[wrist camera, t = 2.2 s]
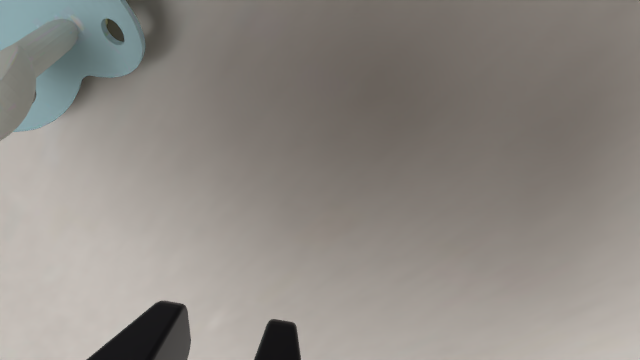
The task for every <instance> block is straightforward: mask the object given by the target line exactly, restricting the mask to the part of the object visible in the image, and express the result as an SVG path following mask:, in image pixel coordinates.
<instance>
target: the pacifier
mask: <svg viewBox="0 0 640 360" xmlns="http://www.w3.org/2000/svg"><path fill="white" fill-rule="evenodd" d="M108 19H111V20H113V21H114V22H115V23H116V24H117V25H118V26H119V27H120V29H121V30H122V32H123V35H124V42H122V41H119V40H117V39H115V38H114V37H113V36H112V35H111V34H110V33H109V31H108V29H107V24H108ZM145 47H146V46H145V38H144V34H143V31H142V29H141V26H140V23H139V21H138V19H137V17H136V16H135V14H134V12H133V11H132V9H131V8H130V6H129V5H128V3H127V2H126V0H0V140H2V139H4V138H5V137H7V136H8V135H9V134H11V133H12V132H19V131H28V130H34V129H37V128H40V127H42V126H45V125H47V124H49V123H50V122H52V121H54V120H56V119H57V118H58V117H59V116H61V115H62V114H63V113H64V112H65V111H66V110H67V109H68V107H69V106H70V105H71V104H72V102H73V101H74V99H75V97H76V95H77V93H78V91H79V89H80V86H81V83H82V79H83V78H84V77H86V76H91V75H92V76H96V77H107V78H113V77H121V76H124V75H126V74H129V73H131V72H132V71H133V70H135V69H136V68H137V67H138V65H139V64H140V62H141V60H142V58H143V56H144V53H145ZM35 91H36V99H35V101H34V102H33V100H34V97H35Z"/></svg>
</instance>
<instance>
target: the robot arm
mask: <svg viewBox="0 0 640 360" xmlns="http://www.w3.org/2000/svg"><path fill="white" fill-rule="evenodd" d="M190 344H191V337H190V328H189V320H188V311H187V308H186V306H185V305H184V304H181V303H175V302H169V301H159V302H157V303H155V304H154V305H153V306H152V307H150V308H149V309H148V310H147V311H146V312H144V313H143V314H142V315H141V316H139V317H138V318H137V319H136V320H135V321H133V322H132V323H131V324H130V325H128V326H127V327H126V328H125V329H124V330H122V331H121V332H120V333H119V334H117V335H116V336H115V337H114V338H113V339H111V340H110V341H109V342H108V343H106V344H105V345H104V346H103V347H102V348H100V349H99V350H98V351H97V352H95V353H94V354H93V355H92V356H91V357H89V358H88V359H87V360H187V358H188V355H189V350H190ZM254 360H301V355H300V348H299V341H298V334H297V328H296V325H295V324H294V323H293V322H288V321H282V320H276V319H272V320H270V321H269V322H268V324H267V326H266V329H265V331H264V334H263V337H262V340H261V342H260V345H259V348H258V351H257V353H256V356H255V359H254Z"/></svg>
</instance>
